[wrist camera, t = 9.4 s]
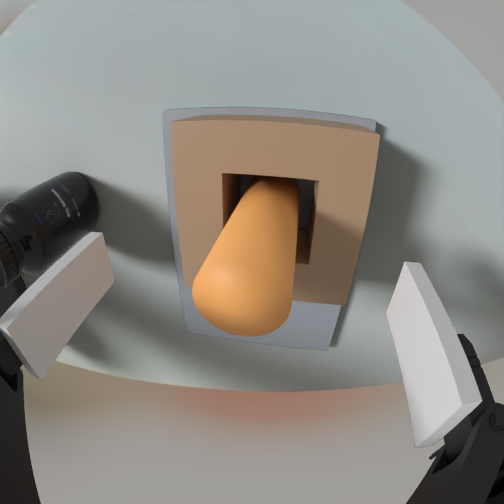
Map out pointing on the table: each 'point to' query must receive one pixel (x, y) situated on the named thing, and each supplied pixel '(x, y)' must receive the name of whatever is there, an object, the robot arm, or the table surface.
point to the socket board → (281, 165)
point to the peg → (252, 261)
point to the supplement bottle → (44, 224)
